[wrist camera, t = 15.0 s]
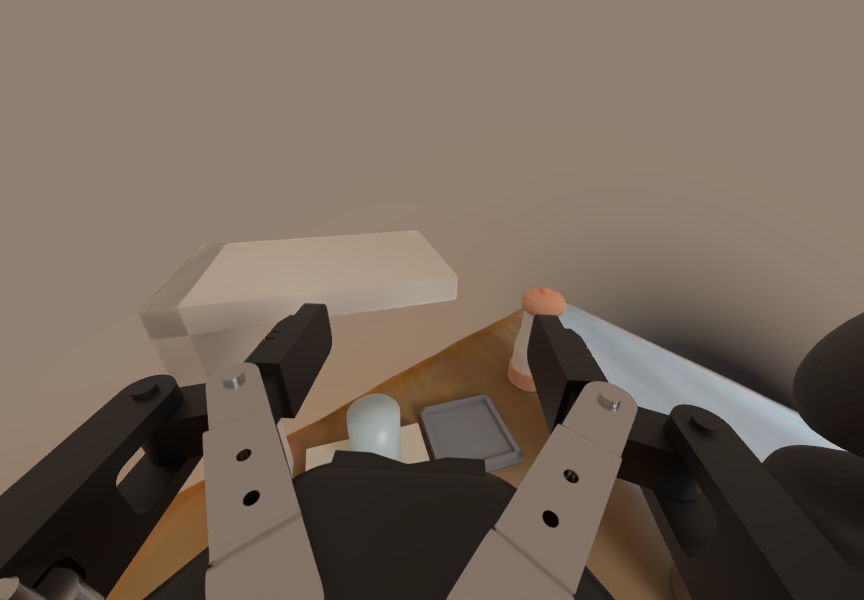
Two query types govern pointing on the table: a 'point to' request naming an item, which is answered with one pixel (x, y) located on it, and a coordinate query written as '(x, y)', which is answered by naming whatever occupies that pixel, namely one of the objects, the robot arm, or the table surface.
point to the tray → (470, 432)
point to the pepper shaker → (532, 304)
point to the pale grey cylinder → (375, 426)
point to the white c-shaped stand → (288, 302)
